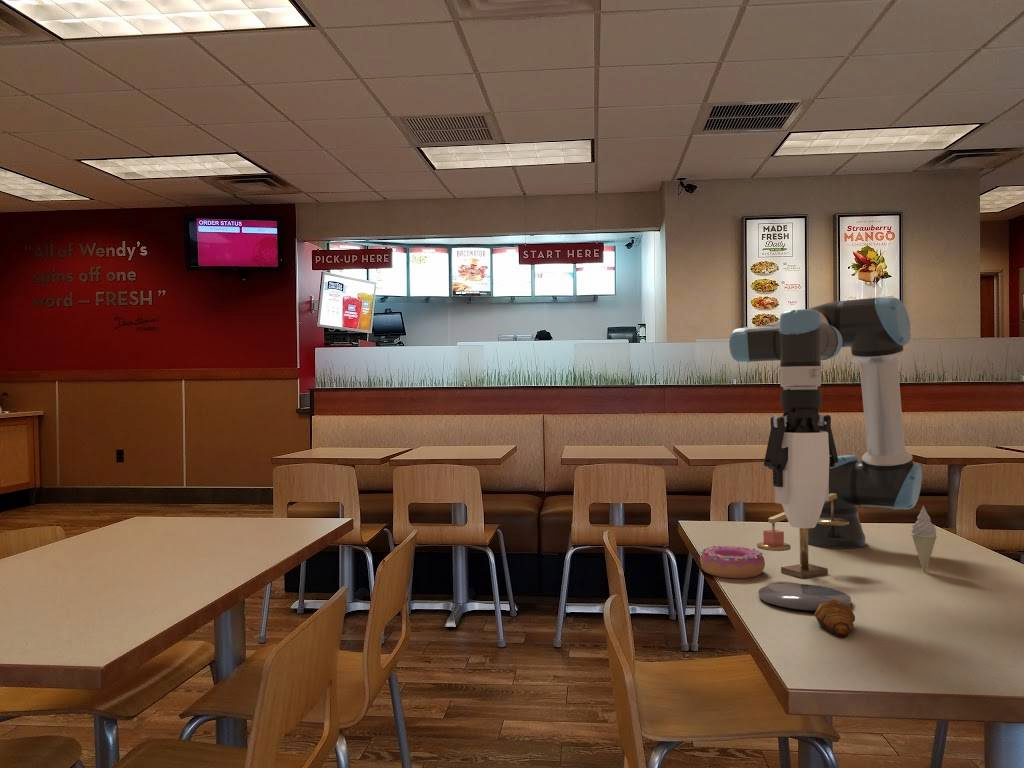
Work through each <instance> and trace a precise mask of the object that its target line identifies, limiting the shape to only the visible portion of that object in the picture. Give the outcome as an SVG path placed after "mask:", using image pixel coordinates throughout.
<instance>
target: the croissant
mask: <svg viewBox="0 0 1024 768" xmlns="http://www.w3.org/2000/svg"><path fill="white" fill-rule="evenodd" d="M813 615H814V617H815V619H816V620H817V621H818V623H819V625H820V626H821V627H823V628H824V629H826V630H827V632H829V633H830V634H832V635H833V636H837V637H840V638H847V636H849V634H850V632H851V630H852V628H853V627H854V623H855V621H856V615H855V614H854V612H853V610H852V608H851V607H850V605H849V606H848V605H846V604H844V603H841V602H839V601H837V600H831V601H827V602H824V603H820V604H819V606H818V608H817V610H816V611H815V613H814V614H813Z"/></svg>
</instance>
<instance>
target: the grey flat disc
mask: <svg viewBox="0 0 1024 768" xmlns="http://www.w3.org/2000/svg"><path fill="white" fill-rule="evenodd" d="M757 595H758V597H759V598H760V599H761V600H762V601H764V602H766V603H768V604H772V605H773V606H778V607H783V608H788V609H792V610H793V609H794V610H802V611H803V610H804V611H813V612H814V611H815V612H816V610H817V608H818V606H819V604H820V603H824V602H827V601H831V600H837V601H839V602H841V603H844V604H846V605H848V606H850V605H851V603H852V598H851V596H850V595H849V594H847V593H846V592H844V591H840V590H838V589H835V588H831V587H827V586H823V585H815V584H807V583H776V584H770V585H766V586H763V587H761V588H759V589H758V594H757Z"/></svg>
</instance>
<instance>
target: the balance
mask: <svg viewBox="0 0 1024 768" xmlns="http://www.w3.org/2000/svg"><path fill="white" fill-rule="evenodd" d="M836 498H837V494H835V493H831V494H829V500H825V502H824V503H826V502H829V501H831V518H819V520H818V522H817V523H818V524H822V525H830V526H844V525H849V521H848V520H845V519H839V518H834V514H833V500H834V499H836ZM767 520H768V524H769V523H770V524H771V527H772V529H766V530H763V533H762V535H763V541H760V542H758V543H756V547H757V548H758V549H760V550H763V551H764V550H765V551H771V552H772V551H773V552H785V551H789V550H791V547H792V546H791V544H789V543H787V542H785V536H784V535H785V532H784V531H782V530H778V529H776V527H775V526H776V525H775V524H777V523H779V522H782V521H783V520H787V517H786V514H785V512H784V511H783V512H781V513H778V514H776V515H774V516H773V515H772V516H770V517H768V518H767ZM798 530H799V563H798V564H793V565H787V566H786V565H785V566H780V572H781V573H782V574H786V575H790V576H792V577H795V578H800V579H805V578H811V577H816V576H817V577H818V576H824V575H829V568H827V567H824V566H820V565H815V564H813V563H809V544H808V528H798Z"/></svg>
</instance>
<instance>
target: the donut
mask: <svg viewBox="0 0 1024 768" xmlns="http://www.w3.org/2000/svg"><path fill="white" fill-rule="evenodd" d="M699 554H700V557H699V562H700V567H701V569H702V571H704V573H706V574H709V576H710V575H711V576H713V577H717V578H718V577H719V578H727V579H747V578H748V579H749V578H755V577H757V576H759V575H761V574H762V573H763V572H764V569H765V565H766V561H765V558H764V554H763V552H761V551H759V550H757V549H754V548H750V547H743V546H734V545H724V546H722V545H716V546H715V545H713V546H711V547H705V548H704V549H702V550H701V551H700V552H699Z"/></svg>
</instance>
